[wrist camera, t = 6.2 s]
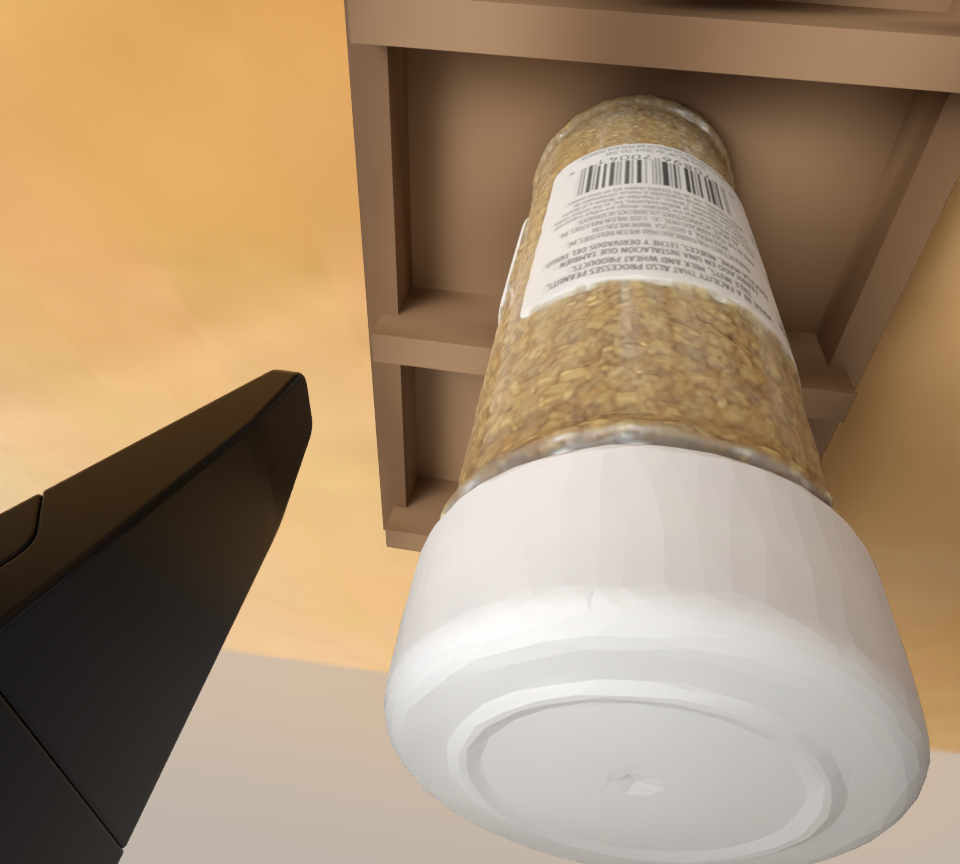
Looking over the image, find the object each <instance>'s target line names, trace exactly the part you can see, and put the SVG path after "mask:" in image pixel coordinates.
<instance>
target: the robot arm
mask: <svg viewBox="0 0 960 864" xmlns="http://www.w3.org/2000/svg"><path fill="white" fill-rule="evenodd" d="M311 431H312V416H311V409H310V402H309V396H308V389H307V383H306V380H305V377H304V376H303V375H302V374H301V373H299V372H292V371H285V370H272V371H269V372H267V373H265V374H264V375H262V376H260V377H258V378H256V379H254V380H252V381H250V382H248V383H247V384H245V385H243V386H241V387H239V388H237V389H235V390H233V391H231V392H230V393H228V394H226V395H224V396H222V397H220V398H218V399H216V400H215V401H213V402H211V403H209V404H207V405H205V406H203V407H201V408H199V409H198V410H196V411H194V412H192V413H190V414H188V415H186V416H184V417H182V418H181V419H179V420H177V421H175V422H173V423H171V424H169V425H167V426H166V427H164V428H162V429H160V430H158V431H156V432H154V433H152V434H150V435H149V436H147V437H145V438H143V439H141V440H139V441H137V442H135V443H133V444H132V445H130V446H128V447H126V448H124V449H122V450H120V451H118V452H116V453H115V454H113V455H111V456H109V457H107V458H105V459H103V460H101V461H99V462H98V463H96V464H94V465H92V466H90V467H88V468H86V469H84V470H82V471H81V472H79V473H77V474H75V475H73V476H71V477H69V478H67V479H65V480H64V481H62V482H60V483H58V484H56V485H54V486H52V487H50V488H48V489H47V490H45V491H44V492H43V496H42V495H40V494H37V495H35V496H33V497H31V498H29V499H27V500H26V501H24V502H22V503H20V504H18V505H16V506H14V507H12V508H11V509H9V510H7V511H5V512H3V513H1V514H0V864H118V863H119V860H120V858H121V856H122V854H123V849H122V848H124V847H125V846H126V845H127V843H128V841H129V839H130V837H131V835H132V833H133V830H134V828H135V826H136V824H137V822H138V820H139V818H140V816H141V813H142V812H143V810H144V808H145V806H146V804H147V801H148V799H149V797H150V795H151V793H152V791H153V789H154V787H155V785H156V783H157V781H158V779H159V777H160V775H161V772H162V770H163V768H164V766H165V764H166V762H167V760H168V758H169V756H170V754H171V751H172V749H173V748H174V745H175V743H176V741H177V739H178V737H179V735H180V733H181V731H182V729H183V727H184V725H185V723H186V720H187V718H188V716H189V714H190V712H191V710H192V708H193V706H194V704H195V702H196V700H197V698H198V696H199V694H200V691H201V689H202V687H203V685H204V683H205V681H206V679H207V677H208V675H209V673H210V671H211V669H212V666H213V665H214V662H215V660H216V658H217V656H218V654H219V652H220V650H221V648H222V646H223V644H224V642H225V640H226V638H227V635H228V633H229V631H230V629H231V627H232V625H233V623H234V621H235V619H236V617H237V615H238V613H239V611H240V608H241V606H242V604H243V602H244V600H245V598H246V596H247V594H248V592H249V590H250V588H251V586H252V584H253V581H254V579H255V577H256V575H257V573H258V571H259V569H260V567H261V565H262V563H263V561H264V559H265V557H266V555H267V552H268V550H269V548H270V546H271V544H272V542H273V540H274V538H275V535H276V533H277V531H278V529H279V526H280V524H281V521H282V518H283V516H284V513H285V510H286V507H287V504H288V501H289V498H290V495H291V492H292V489H293V486H294V483H295V480H296V477H297V475H298V472H299V469H300V466H301V463H302V460H303V457H304V454H305V451H306V448H307V445H308V442H309V439H310V436H311Z"/></svg>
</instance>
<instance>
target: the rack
mask: <svg viewBox="0 0 960 864" xmlns="http://www.w3.org/2000/svg"><path fill="white" fill-rule="evenodd" d="M344 6H345V19H346V33H347V46H348V59H349V73H350V86H351V100H352V113H353V126H354V140H355V153H356V167H357V180H358V193H359V207H360V220H361V234H362V247H363V260H364V274H365V287H366V301H367V314H368V327H369V341H370V354H371V368H372V381H373V394H374V408H375V421H376V435H377V448H378V461H379V475H380V488H381V502H382V515H383V528H384V530H386V543H387V547H392V548H399V549H405V550H412V551H418V552H421V550H422V548H423V546H424V544H425V542H426V540H427V538H428V536H429V534H430V532H431V531H432V529H433V528H434V526H435V525H436V523H437V522H438V521H439V520H440V517H441V513H442V511H443V508H444V506H445V504H446V503H447V502H448V500H449V499H450V498H451V496H452V495H453V494H454V492H455V491H456V490H457V488H458V486H459V478H460V474H461V471H462V468H463V464H464V459H465V455H466V451H467V447H468V444H469V441H470V437H471V433H472V429H473V425H474V422H475V416H476V408H477V405H478V402H479V398H480V393H481V389H482V386H483V383H484V378H485V375H486V371H487V367H488V363H489V360H490V355H491V350H492V346H493V343H494V340H495V334H496V331H497V328H498V317H499V309H500V304H501V299H502V296H503V292H504V289H505V285H506V281H507V278H508V274H509V271H510V267H511V263H512V260H513V257H514V253H515V250H516V246H517V243H518V239H519V236H520V233H521V229H522V226H523V224H524V222H525V220H526V219H527V218H528V217H529V213H530V210H531V202H532V192H533V178H534V175H535V172H536V170H537V168H538V165H539V163H540V160H541V157H542V155H543V153H544V151H545V149H546V147H547V145H548V144H549V142H550V141H551V140H552V138H553V137H555V135H556V134H557V133H558V132H559V131H560V130H561V129H562V128H564V127H565V126H566V125H567V124H568V123H569V122H570V121H571V120H572V119H573V117H575V116H576V115H578V114H580V113H583V112H584V111H586V110H588V109H589V108H591V107H593V106H595V105H597V104H600V103H601V102H603V101H605V100H609V99H614V98H616V97H624V96H634V95H653V96H656V97H658V98H661V99H669V100H673V101H676V102H678V103H680V104H681V105H683V106H685V107H688V108H691V109H693V110H694V111H696V112H697V113H698V114H700V115H701V116H702V117H703V118H704V119H705V120H706V121H708V122H709V123H710V125H711V126H712V127H713V128H714V129H715V131H716V132H717V133H718V134H719V136H720V137H721V139H722V141H723V143H724V145H725V147H726V149H727V151H728V153H729V156H730V163H731V168H732V171H733V174H734V183H735V190H734V192H735V193H736V195H737V197H738V198H739V200H740V202H741V204H742V206H743V208H744V211H745V213H746V216H747V219H748V222H749V225H750V227H751V230H752V233H753V236H754V239H755V242H756V245H757V248H758V251H759V254H760V256H761V259H762V262H763V265H764V268H765V271H766V274H767V277H768V281H769V284H770V287H771V290H772V294H773V297H774V300H775V303H776V306H777V309H778V312H779V315H780V318H781V321H782V324H783V327H784V330H785V333H786V336H787V339H788V342H789V345H790V348H791V351H792V354H793V357H794V360H795V363H796V367H797V371H798V375H799V380H800V384H801V393H802V401H803V406H804V410H805V414H806V417H807V420H808V423H809V426H810V429H811V432H812V435H813V438H814V441H815V444H816V447H817V450H818V454H819V459H820V460H821V458H822V456H823V454H824V452H825V450H826V448H827V446H828V444H829V442H830V440H831V438H832V436H833V434H834V432H835V430H836V427H837V425H838V423H839V422H843V421H844V419H845V417H846V415H847V413H848V411H849V409H850V407H851V405H852V403H853V401H854V399H855V397H856V395H857V394H856V392H855V388H856V386H857V384H858V382H859V380H860V378H861V376H862V374H863V372H864V370H865V368H866V366H867V364H868V362H869V360H870V358H871V355H872V353H873V351H874V349H875V347H876V345H877V343H878V341H879V339H880V337H881V335H882V333H883V331H884V329H885V327H886V325H887V323H888V320H889V318H890V316H891V314H892V312H893V310H894V308H895V306H896V304H897V302H898V300H899V298H900V296H901V294H902V292H903V290H904V288H905V285H906V283H907V281H908V279H909V277H910V275H911V273H912V271H913V269H914V267H915V265H916V263H917V261H918V259H919V257H920V255H921V253H922V250H923V248H924V246H925V244H926V242H927V240H928V238H929V236H930V234H931V232H932V230H933V228H934V226H935V224H936V222H937V220H938V218H939V216H940V213H941V211H942V209H943V207H944V205H945V203H946V201H947V199H948V197H949V195H950V193H951V191H952V189H953V187H954V185H955V183H956V181H957V178H958V176H959V174H960V0H344Z"/></svg>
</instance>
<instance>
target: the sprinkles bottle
mask: <svg viewBox="0 0 960 864" xmlns="http://www.w3.org/2000/svg"><path fill="white" fill-rule="evenodd" d="M734 190H735V183H734V174H733V171H732V168H731V163H730V156H729V153H728V151H727V149H726V147H725V145H724V143H723V141H722V139H721V137H720V136H719V134H718V133H717V132H716V131H715V129H714V128H713V127H712V126H711V125H710V123H709V122H708V121H706V120H705V119H704V118H703V117H702V116H701V115H700V114H698V113H697V112H696V111H694V110H693V109H691V108H688V107H685V106H683V105H681V104H680V103H678V102H676V101H673V100H669V99H661V98H658V97H656V96H653V95H634V96H624V97H616V98H614V99H609V100H605V101H603V102H601V103H600V104H597V105H595V106H593V107H591V108H589V109H588V110H586V111H584V112H583V113H580V114H578V115H576V116H575V117H573V119H572V120H571V121H570V122H569V123H568V124H567V125H566V126H565V127H564V128H562V129H561V130H560V131H559V132H558V133H557V134H556V135H555V137H553V138H552V140H551V141H550V142H549V144H548V145H547V147H546V149H545V151H544V153H543V155H542V157H541V160H540V163H539V165H538V168H537V170H536V172H535V175H534V178H533V192H532V202H531V210H530V213H529V217H528V218H527V219H526V220H525V222H524V224H523V226H522V229H521V233H520V236H519V239H518V243H517V246H516V250H515V253H514V257H513V260H512V263H511V267H510V271H509V274H508V278H507V281H506V285H505V289H504V292H503V296H502V299H501V304H500V309H499V317H498V328H497V331H496V334H495V340H494V343H493V346H492V350H491V355H490V360H489V363H488V367H487V371H486V375H485V378H484V383H483V386H482V389H481V393H480V398H479V402H478V405H477V408H476V416H475V422H474V425H473V429H472V433H471V437H470V441H469V444H468V447H467V451H466V455H465V459H464V464H463V468H462V471H461V474H460V478H459V486H458V488H457V490H456V491H455V492H454V494H453V495H452V496H451V498H450V499H449V500H448V502H447V503H446V504H445V506H444V508H443V511H442V513H441V517H440V520H439V521H438V522H437V523H436V525H435V526H434V528H433V529H432V531H431V532H430V534H429V536H428V538H427V540H426V542H425V544H424V546H423V548H422V550H421V554H420V557H419V560H418V564H417V567H416V571H415V574H414V578H413V581H412V585H411V588H410V592H409V595H408V599H407V602H406V606H405V609H404V613H403V616H402V620H401V624H400V629H399V633H398V637H397V641H396V645H395V649H394V654H393V658H392V662H391V666H390V670H389V674H388V679H387V683H386V688H385V700H384V706H385V716H386V725H387V731H388V734H389V737H390V740H391V743H392V746H393V748H394V750H395V751H396V753H397V755H398V757H399V758H400V760H401V762H402V763H403V764H404V766H405V767H406V768H407V770H408V771H409V772H410V773H411V774H412V776H413V777H414V778H415V779H416V780H417V781H418V782H419V783H420V784H421V785H422V786H423V787H424V788H425V789H426V790H427V791H428V792H429V793H430V794H431V795H432V796H433V797H435V798H436V799H437V800H439V801H440V802H441V803H443V804H444V805H445V806H447V807H448V808H449V809H451V810H452V811H454V812H455V813H457V814H458V815H460V816H462V817H464V818H465V819H467V820H469V821H471V822H472V823H474V824H476V825H478V826H480V827H482V828H484V829H486V830H488V831H490V832H492V833H494V834H496V835H499V836H501V837H504V838H506V839H508V840H511V841H513V842H516V843H518V844H520V845H523V846H525V847H528V848H531V849H534V850H537V851H540V852H543V853H547V854H550V855H553V856H557V857H561V858H565V859H569V860H573V861H577V862H581V863H585V864H814V863H817V862H820V861H823V860H827V859H829V858H833V857H836V856H838V855H841V854H843V853H846V852H848V851H851V850H853V849H855V848H858V847H860V846H862V845H864V844H865V843H868V842H870V841H872V840H873V839H875V838H876V837H877V836H879V835H880V834H882V833H883V832H884V831H886V830H887V829H888V828H890V827H891V826H892V825H894V824H895V823H896V822H897V821H898V820H899V819H900V818H901V817H902V816H903V815H904V814H905V813H906V811H907V810H908V809H909V808H910V807H911V805H912V804H913V803H914V801H916V799H917V798H918V796H919V793H920V791H921V789H922V786H923V784H924V781H925V779H926V776H927V771H928V767H929V764H930V748H929V737H928V732H927V727H926V723H925V718H924V713H923V710H922V706H921V703H920V700H919V696H918V693H917V689H916V686H915V683H914V679H913V676H912V673H911V669H910V666H909V662H908V659H907V656H906V653H905V650H904V647H903V644H902V641H901V638H900V635H899V633H898V630H897V627H896V624H895V621H894V618H893V615H892V612H891V609H890V606H889V603H888V600H887V597H886V594H885V591H884V589H883V586H882V583H881V580H880V577H879V574H878V571H877V568H876V565H875V564H874V562H873V560H872V558H871V556H870V555H869V553H868V551H867V549H866V547H865V546H864V544H863V543H862V541H861V540H860V538H859V537H858V536H857V534H856V533H855V532H854V531H853V529H852V528H851V527H850V526H849V524H848V523H847V522H846V521H845V520H844V519H843V518H842V517H841V516H839V515H838V514H837V513H836V512H835V511H834V510H833V508H832V503H833V499H832V496H831V494H830V493H829V486H828V483H827V481H826V479H825V477H824V474H823V471H822V468H821V463H820V459H819V454H818V450H817V447H816V444H815V441H814V438H813V435H812V432H811V429H810V426H809V423H808V420H807V417H806V414H805V410H804V406H803V401H802V393H801V384H800V380H799V375H798V371H797V367H796V363H795V360H794V357H793V354H792V351H791V348H790V345H789V342H788V339H787V336H786V333H785V330H784V327H783V324H782V321H781V318H780V315H779V312H778V309H777V306H776V303H775V300H774V297H773V294H772V290H771V287H770V284H769V281H768V277H767V274H766V271H765V268H764V265H763V262H762V259H761V256H760V254H759V251H758V248H757V245H756V242H755V239H754V236H753V233H752V230H751V227H750V225H749V222H748V219H747V216H746V213H745V211H744V208H743V206H742V204H741V202H740V200H739V198H738V197H737V195H736V193H735V192H734Z"/></svg>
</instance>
